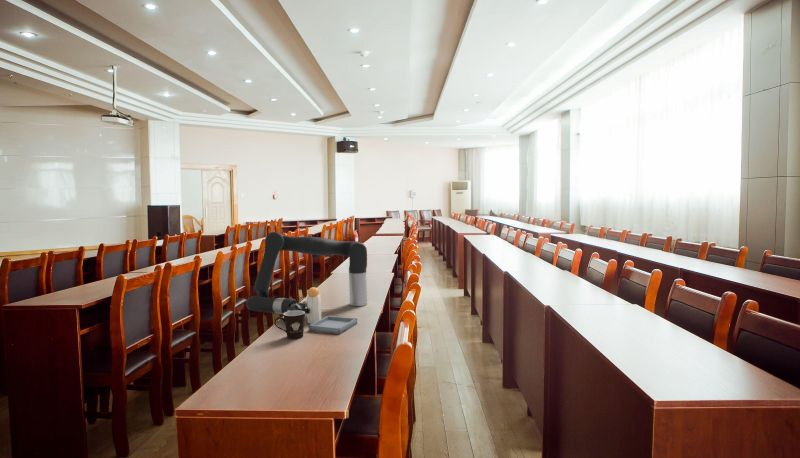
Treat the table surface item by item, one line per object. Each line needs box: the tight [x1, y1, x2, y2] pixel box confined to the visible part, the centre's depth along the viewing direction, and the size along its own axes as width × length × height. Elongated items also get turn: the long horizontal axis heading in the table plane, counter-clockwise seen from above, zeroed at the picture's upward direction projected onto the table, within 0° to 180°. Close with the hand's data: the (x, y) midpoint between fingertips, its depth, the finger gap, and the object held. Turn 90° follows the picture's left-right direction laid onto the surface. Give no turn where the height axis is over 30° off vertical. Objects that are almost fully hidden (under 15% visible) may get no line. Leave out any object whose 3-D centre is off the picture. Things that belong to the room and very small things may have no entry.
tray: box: [308, 315, 358, 335], centre depth 193 cm, size 16×15×2 cm
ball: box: [307, 286, 320, 297], centre depth 202 cm, size 5×5×5 cm
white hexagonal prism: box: [306, 294, 322, 324], centre depth 202 cm, size 6×6×12 cm
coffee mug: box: [274, 310, 306, 340], centre depth 181 cm, size 12×9×10 cm
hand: (314, 308), depth 202 cm, fingers open, 8 cm apart
